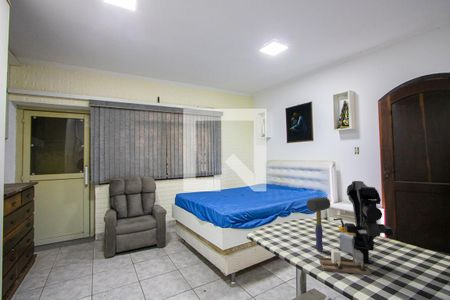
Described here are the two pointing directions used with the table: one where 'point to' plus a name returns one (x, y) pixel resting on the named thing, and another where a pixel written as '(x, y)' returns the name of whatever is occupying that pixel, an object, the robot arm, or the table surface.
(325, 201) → the rubber mallet
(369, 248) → the robot arm
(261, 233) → the table surface
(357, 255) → the wooden peg rack
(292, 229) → the table surface
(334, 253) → the slider
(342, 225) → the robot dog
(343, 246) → the medicine box
